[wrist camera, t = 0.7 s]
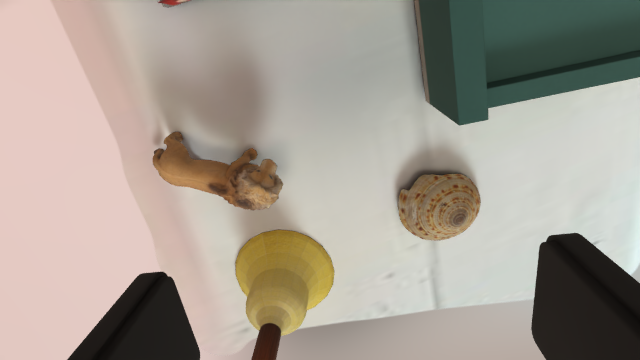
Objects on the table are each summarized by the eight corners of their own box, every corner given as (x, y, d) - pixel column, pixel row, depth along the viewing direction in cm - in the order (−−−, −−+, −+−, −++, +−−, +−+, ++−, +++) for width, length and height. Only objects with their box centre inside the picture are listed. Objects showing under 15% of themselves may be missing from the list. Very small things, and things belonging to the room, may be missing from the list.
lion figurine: (292, 140, 37) (278, 170, 28) (290, 186, 39) (276, 227, 30) (154, 128, 37) (100, 154, 29) (159, 175, 39) (110, 212, 31)
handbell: (262, 322, 46) (184, 606, 23) (217, 248, 42) (68, 502, 19) (349, 296, 44) (358, 584, 21) (310, 215, 40) (267, 461, 17)
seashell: (406, 167, 35) (490, 194, 32) (417, 155, 40) (491, 178, 37) (385, 236, 38) (460, 267, 35) (397, 218, 43) (464, 243, 40)
